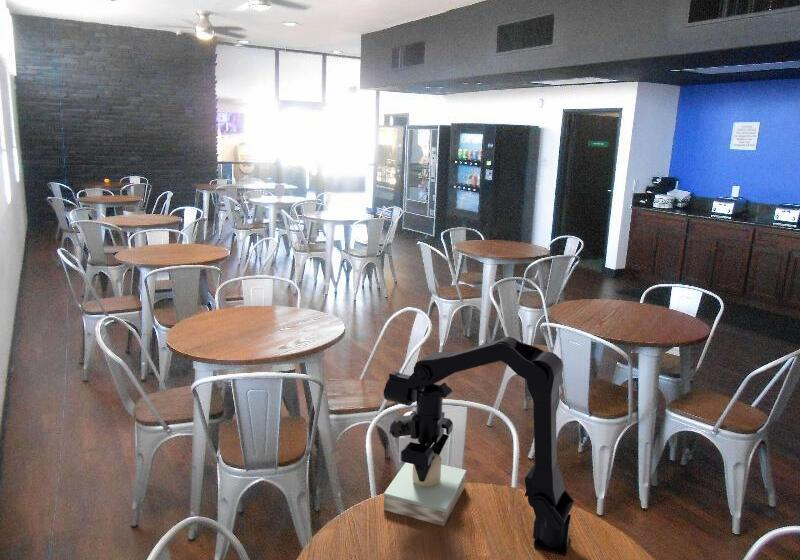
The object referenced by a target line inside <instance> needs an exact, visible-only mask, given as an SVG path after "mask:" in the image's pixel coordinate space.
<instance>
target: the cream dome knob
mask: <svg viewBox="0 0 800 560" xmlns="http://www.w3.org/2000/svg"><path fill="white" fill-rule="evenodd" d="M433 457H435V458H434V461H433V463H432V465H431V467H430V470H429V472H428V474H427V476H426V479H425V481H424V482H421V481H419V478H418V475H417V472H416V469H415V466H414V464H413V477H412V478H413V481H414V482H415V483H416V484H418V485H421V486H434V485H437V484H438V483H439V482H440V480H441V464H442V457H441V456H440V455H438V454H436V453H434V452H433Z"/></svg>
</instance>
